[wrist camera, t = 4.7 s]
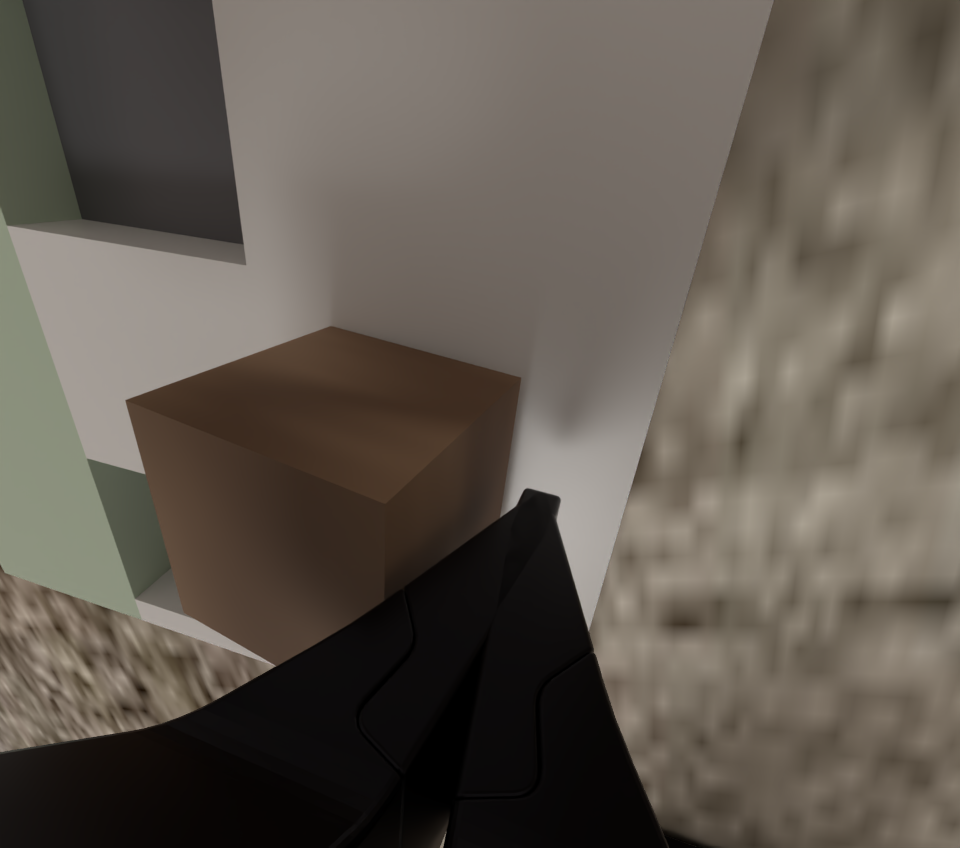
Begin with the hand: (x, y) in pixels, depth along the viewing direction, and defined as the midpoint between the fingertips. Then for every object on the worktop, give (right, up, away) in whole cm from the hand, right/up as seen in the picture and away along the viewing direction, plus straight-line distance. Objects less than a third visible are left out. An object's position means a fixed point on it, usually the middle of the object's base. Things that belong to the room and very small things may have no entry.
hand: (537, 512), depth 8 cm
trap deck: (-7, +3, +5) cm, 9 cm away
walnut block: (-2, +1, +2) cm, 3 cm away
